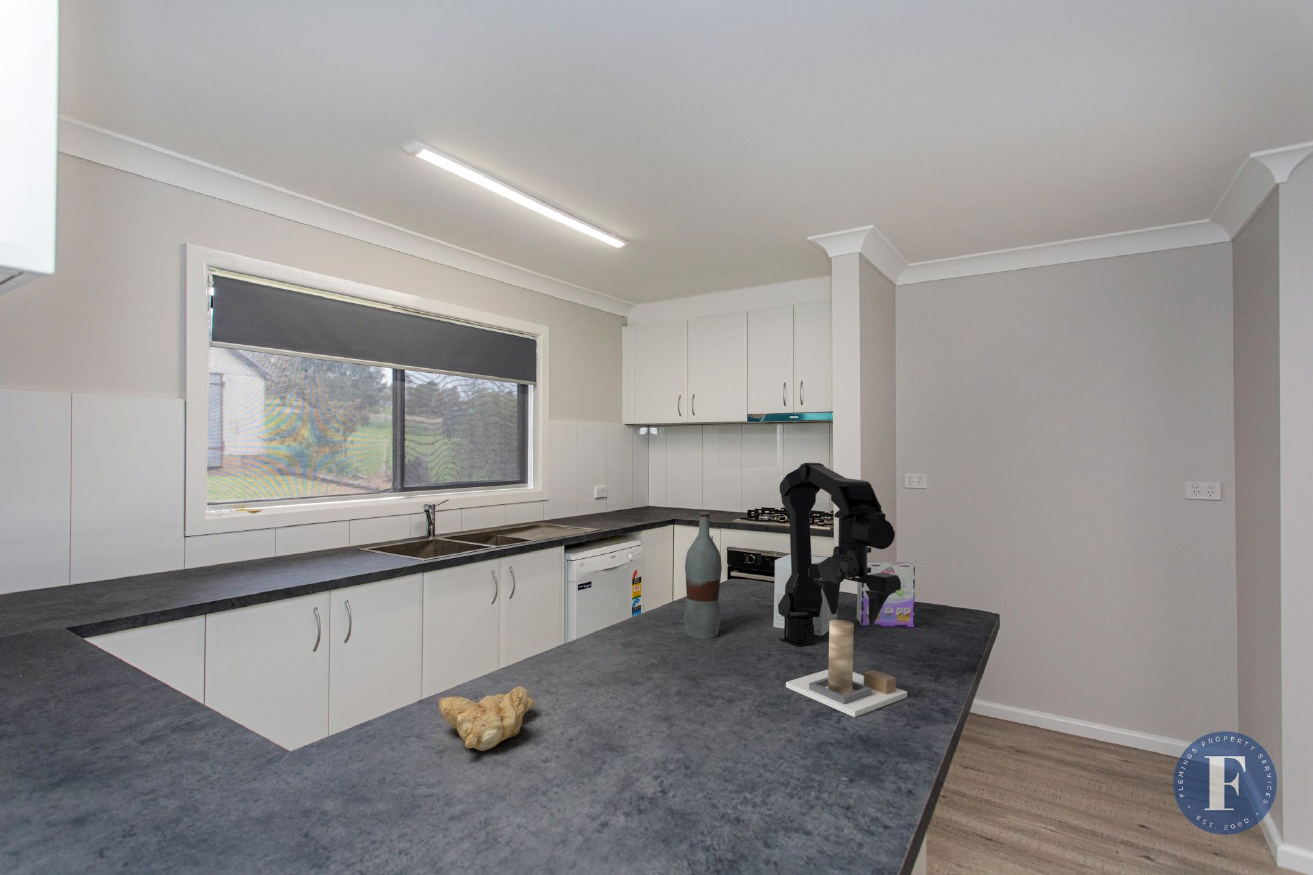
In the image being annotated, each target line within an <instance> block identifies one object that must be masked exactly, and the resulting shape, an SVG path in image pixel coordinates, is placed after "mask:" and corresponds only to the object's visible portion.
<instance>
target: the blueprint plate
mask: <svg viewBox="0 0 1313 875" xmlns="http://www.w3.org/2000/svg"><path fill="white" fill-rule="evenodd" d="M896 684H897V678H896V677H894V676H892V675H889V674H886V673H883V672H882V671H881V672H880V671H878V670H875V669H871V670H868V671H866V672H865V671H864V672H863V674H860V673H857V672H855V671H853V683H852V693H849V694H846V695H842V694H839V693H837V692H834V691H832V690H830V689H828V669H825V670H822V671H819V672H815V673H812V674H808V675H804V676H802V677H798V678H795V679H792V680H789V681H786V682H785V688H787V689H789V690H791V691H794V692H796V693H798V694H800V695H803V696H805V697H808V698H810V699H813V700H814V701H817V702H819V703H821V704H824V705H826V706H828V707H829V708H830V707H831V708H833V709H835V710H837V711H839V712H842V713H844V714H847V715H848V716H851V717H853V718H856V717H860V716H861V715H864V714H867V713H869V712H872V711H875V710H877V709H880V708H882V707H885V706H888V705H890V704H893V703H896V702H898V701H900V700H903V699H907V698H908V691H906V690H904V689H900V688H897V687H896V686H897V685H896Z"/></svg>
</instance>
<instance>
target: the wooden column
mask: <svg viewBox="0 0 1313 875" xmlns="http://www.w3.org/2000/svg"><path fill="white" fill-rule="evenodd" d="M854 628H855V624H854V622H851V621H849V620H846V619H845V620H844V619H837V620H831V621H830V625H829V631H828V637H829V638H828V669H827V670H828V689H830V690H832V691H834V692H837V693H839V694H842V695H846V694H849V693H852V683H853V672H854V671H853V670H854V636H855V635H854V632H855V629H854Z"/></svg>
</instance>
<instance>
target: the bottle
mask: <svg viewBox="0 0 1313 875" xmlns="http://www.w3.org/2000/svg"><path fill="white" fill-rule="evenodd" d="M698 514H699V518H698V519H699V523H698V534H697V536H696V538H695V539H694V541H692V544H691V545H690V546H689V548H688V550H687V552H686V555H685V561H684V562H685V564H684V571H685V572H684V573H685V589H686V590H685V591H686V598H685V603H684V611H683V624H684V625H683V626H684V632H685V635H686V636H688V637H690V638H694V639H699V640H701V639H702V640H706V639H707V640H708V639H714V638H716V637H718V635H719V630H720V627H721V620H722V619H721V618H722V617H721V609H720V600H719V597H720V586H721V577H722V570H723V568H722V566H723V565H722V556H721V552H720V551H719V549H718V547H717V546H716V543H715V542H714V540H713V539H712V537H711V535H710V514H711V513H710V512H708V511H701V512H698Z"/></svg>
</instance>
